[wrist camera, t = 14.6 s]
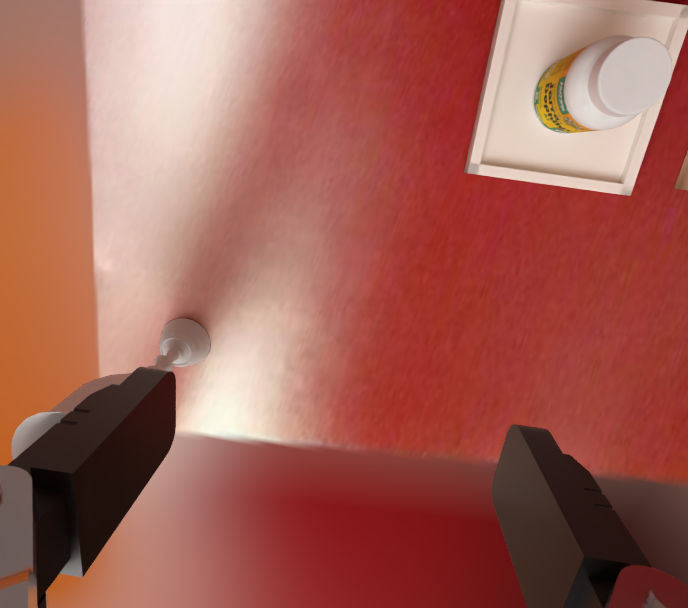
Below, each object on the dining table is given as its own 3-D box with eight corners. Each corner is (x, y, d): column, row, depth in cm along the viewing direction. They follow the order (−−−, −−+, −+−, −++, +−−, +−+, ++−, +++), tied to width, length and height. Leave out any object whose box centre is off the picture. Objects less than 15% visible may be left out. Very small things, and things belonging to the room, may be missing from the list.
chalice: (150, 303, 43) (2, 404, 26) (219, 311, 43) (115, 418, 26) (154, 370, 45) (21, 503, 28) (219, 378, 45) (124, 516, 28)
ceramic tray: (503, -11, 32) (509, -18, 31) (681, 12, 32) (695, 6, 31) (464, 172, 37) (467, 173, 35) (620, 194, 37) (630, 195, 35)
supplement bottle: (615, 105, 34) (703, 89, 25) (550, 148, 35) (611, 148, 26) (583, 40, 32) (663, -2, 23) (517, 87, 34) (569, 65, 25)
